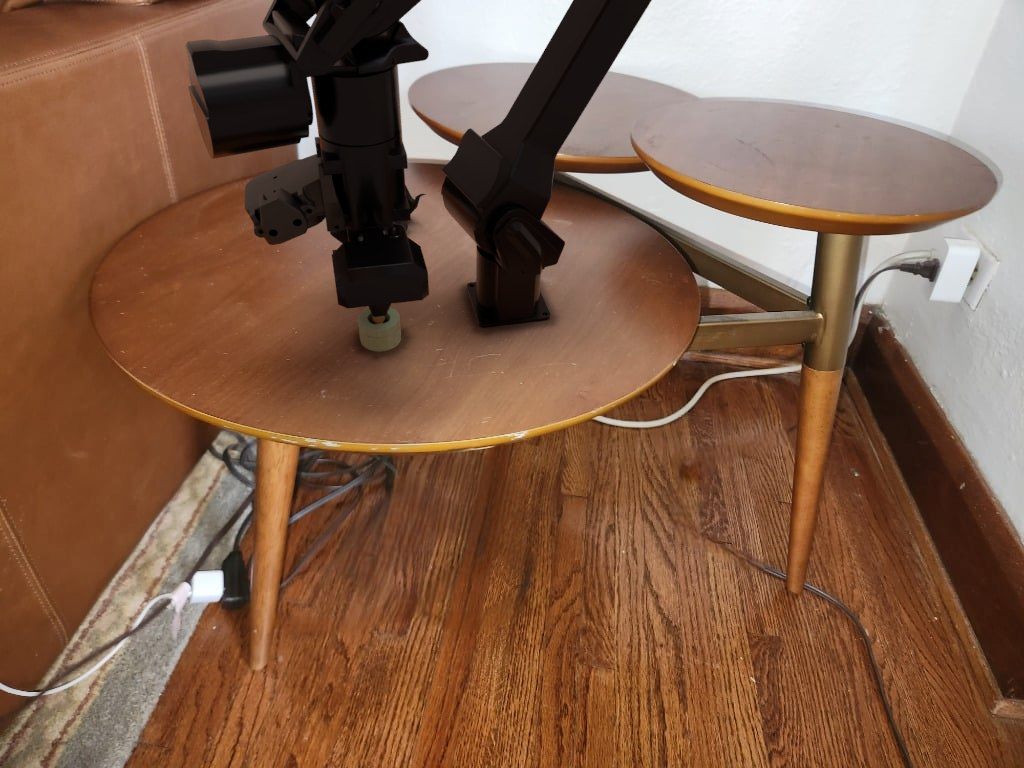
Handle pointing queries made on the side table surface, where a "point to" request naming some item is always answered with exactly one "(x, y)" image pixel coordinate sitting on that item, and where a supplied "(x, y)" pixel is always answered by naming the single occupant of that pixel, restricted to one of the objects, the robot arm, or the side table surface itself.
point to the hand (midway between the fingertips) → (378, 310)
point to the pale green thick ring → (379, 331)
